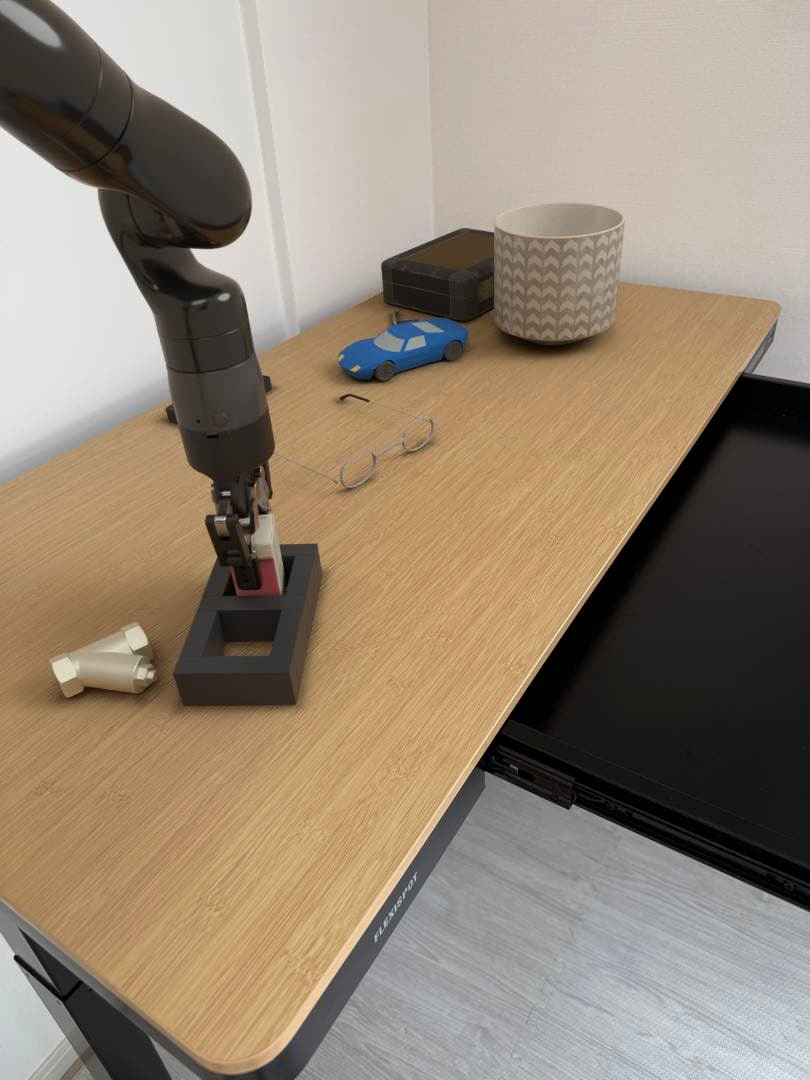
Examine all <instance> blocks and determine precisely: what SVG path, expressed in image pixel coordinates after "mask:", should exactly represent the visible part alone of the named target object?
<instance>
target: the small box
mask: <svg viewBox="0 0 810 1080" xmlns="http://www.w3.org/2000/svg"><path fill="white" fill-rule="evenodd" d="M275 519H276V518H275V514H274V513H273V512H272V513H270V514H264V515H259V530H258V531H257V532H256V533H255V544H256V550H257V557H258V562H259V567H260V571H261V576H262V580H263V583H262V586H261V589H259V590H240V589H239V588H238V586H237V582H236V578H235V574H234V569H233V566H230V569H231V573H232V577H233V581H234V585H235V590H236V594H237V596H259V595H285V594H286V587H285V572H284V568H283V562H282V557H281V551H280V546H279V544H280V541H279V536H278V530H277V526H276V525H277V524H276V520H275ZM241 522H242V523H250V519H249V518H246V519H241ZM244 536H245V535H244ZM245 539H246V536H245ZM246 542H247V541H246Z"/></svg>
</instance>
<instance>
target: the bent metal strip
mask: <svg viewBox="0 0 810 1080" xmlns="http://www.w3.org/2000/svg"><path fill="white" fill-rule="evenodd" d="M393 313H394V314H392V319H391V321H392V323H393V326H395V325H399V324H403V323H407V322H414V321H420V319H419V318H407V319H398V318H397V315H398V314H400V313H401V311H400V310H393Z"/></svg>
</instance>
